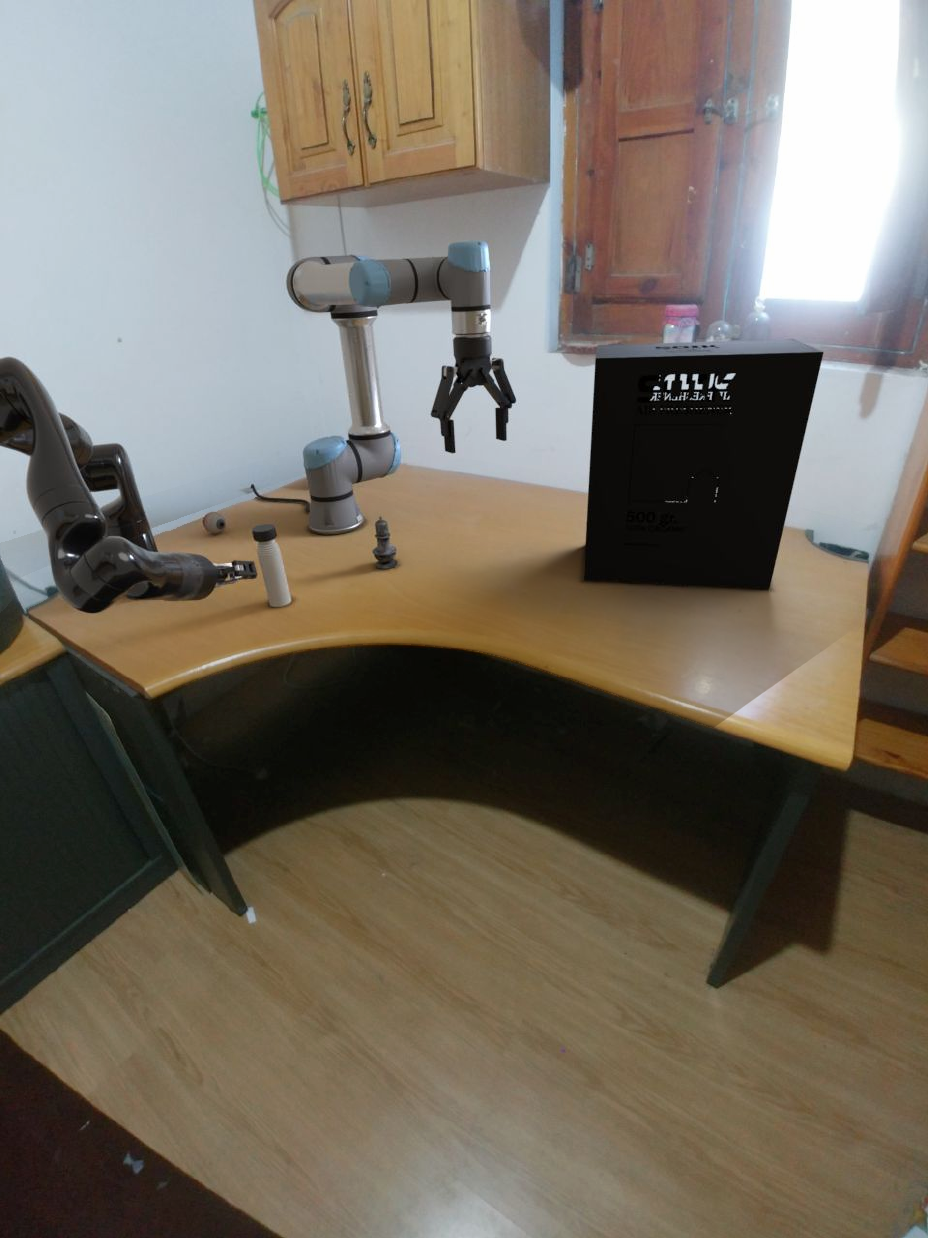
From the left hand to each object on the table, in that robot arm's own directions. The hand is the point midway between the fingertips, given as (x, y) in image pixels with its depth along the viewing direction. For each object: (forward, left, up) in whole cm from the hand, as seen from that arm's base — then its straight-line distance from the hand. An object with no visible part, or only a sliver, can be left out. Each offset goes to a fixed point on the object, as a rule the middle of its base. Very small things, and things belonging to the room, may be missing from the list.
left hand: (232, 578), depth 109 cm
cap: (-3, +16, +3) cm, 17 cm away
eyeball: (-42, +50, -14) cm, 67 cm away
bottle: (-3, +16, -14) cm, 22 cm away
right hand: (+36, +41, +14) cm, 56 cm away
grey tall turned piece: (+13, +38, -14) cm, 43 cm away
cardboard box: (+78, +48, -14) cm, 93 cm away
